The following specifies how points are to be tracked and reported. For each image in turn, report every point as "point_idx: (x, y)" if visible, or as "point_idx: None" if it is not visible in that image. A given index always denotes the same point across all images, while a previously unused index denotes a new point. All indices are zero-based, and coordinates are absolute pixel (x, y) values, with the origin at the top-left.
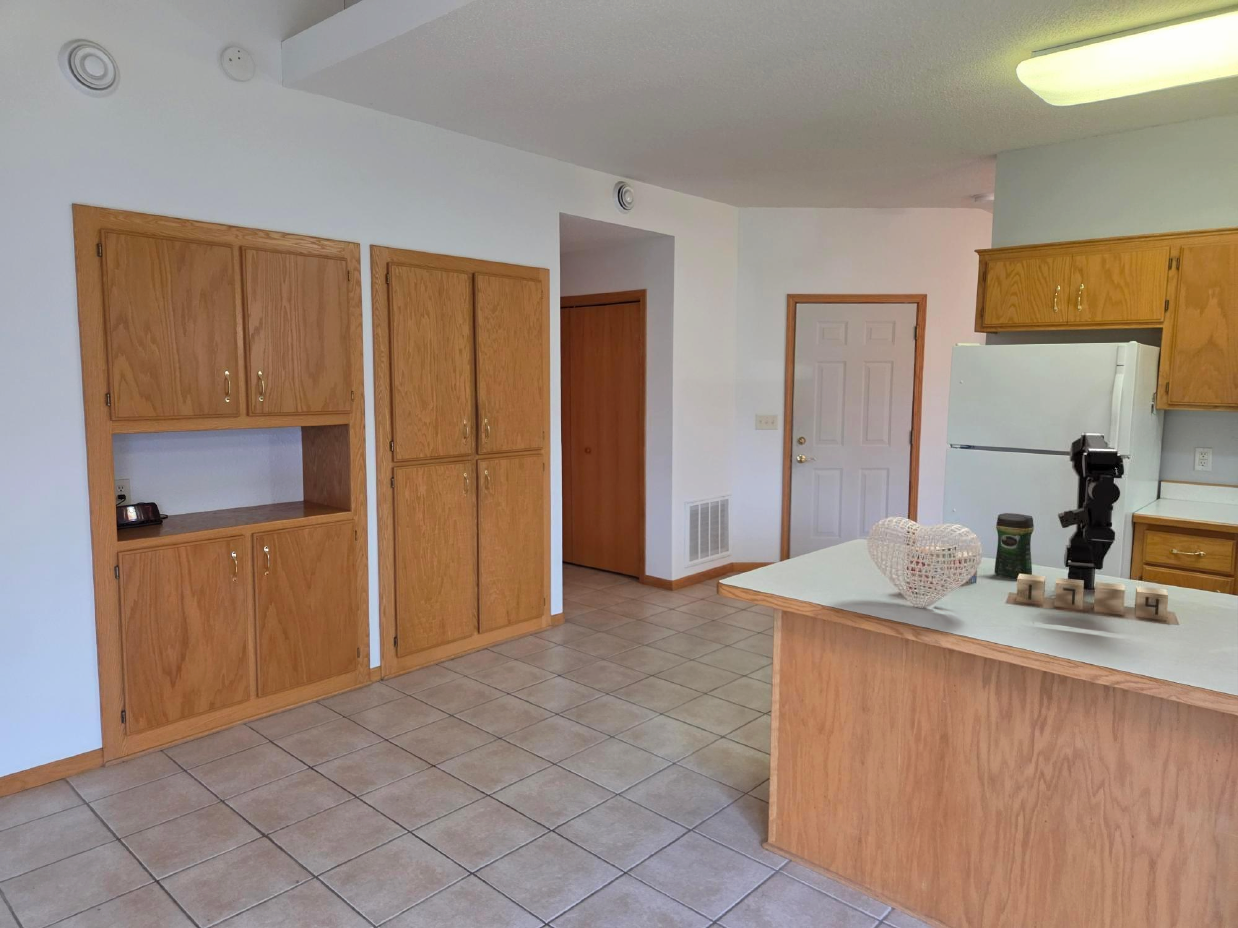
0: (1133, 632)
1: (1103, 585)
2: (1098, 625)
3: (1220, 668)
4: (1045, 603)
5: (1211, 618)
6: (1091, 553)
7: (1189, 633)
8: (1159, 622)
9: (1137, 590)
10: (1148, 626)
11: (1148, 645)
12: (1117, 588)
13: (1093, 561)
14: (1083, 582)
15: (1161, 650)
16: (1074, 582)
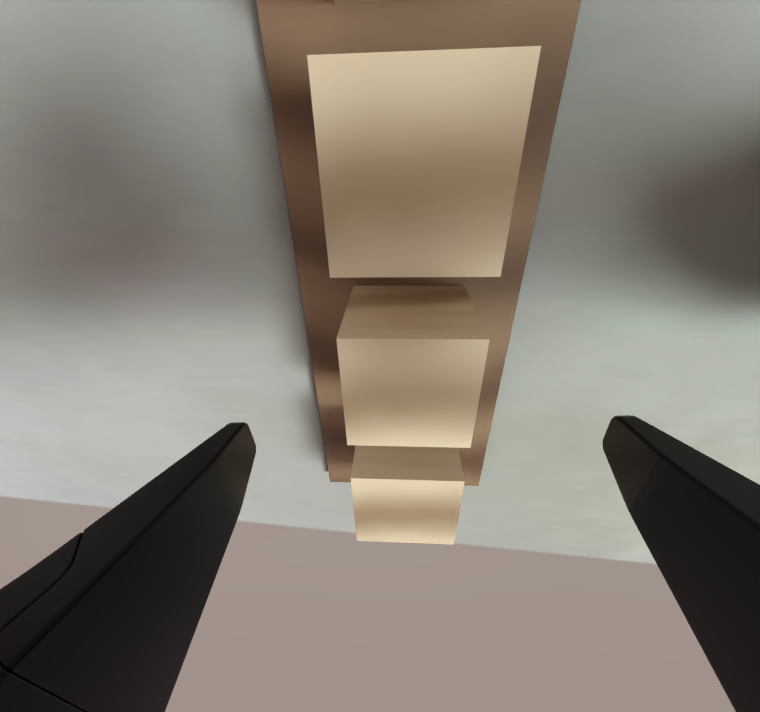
0: (207, 383)
1: (404, 373)
2: (207, 294)
3: (63, 495)
4: (379, 20)
5: (489, 527)
6: (653, 456)
7: (305, 483)
8: (325, 448)
9: (374, 479)
10: (311, 418)
11: (101, 406)
12: (367, 423)
13: (192, 453)
14: (431, 275)
15: (85, 426)
16: (399, 217)
